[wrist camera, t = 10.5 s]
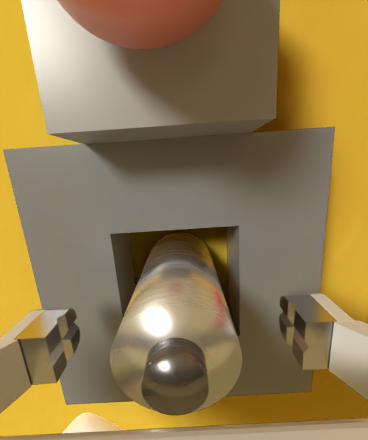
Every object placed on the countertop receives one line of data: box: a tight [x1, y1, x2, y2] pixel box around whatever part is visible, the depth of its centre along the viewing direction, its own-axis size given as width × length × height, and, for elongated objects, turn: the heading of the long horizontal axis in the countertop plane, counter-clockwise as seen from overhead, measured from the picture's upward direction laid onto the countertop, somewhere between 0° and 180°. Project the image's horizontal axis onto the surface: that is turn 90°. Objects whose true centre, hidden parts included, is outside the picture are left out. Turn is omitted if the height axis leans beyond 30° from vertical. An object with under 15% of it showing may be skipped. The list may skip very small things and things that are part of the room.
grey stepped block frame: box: [3, 0, 335, 405], centre depth 10 cm, size 21×14×6 cm, turn 4°
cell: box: [110, 233, 242, 415], centre depth 10 cm, size 4×4×8 cm
